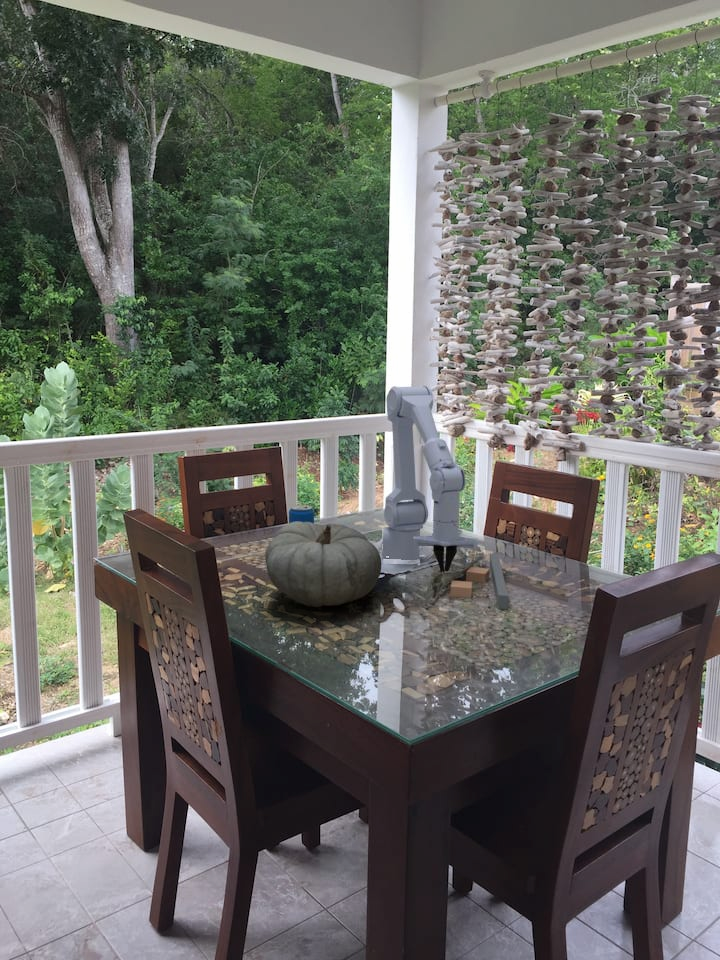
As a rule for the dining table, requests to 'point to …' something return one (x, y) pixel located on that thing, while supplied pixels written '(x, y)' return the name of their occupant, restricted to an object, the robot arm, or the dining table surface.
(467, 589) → the tile
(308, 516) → the beverage can
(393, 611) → the dining table surface
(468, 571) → the tile
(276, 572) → the gourd
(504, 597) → the slate curb
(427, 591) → the driftwood
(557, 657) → the dining table surface
